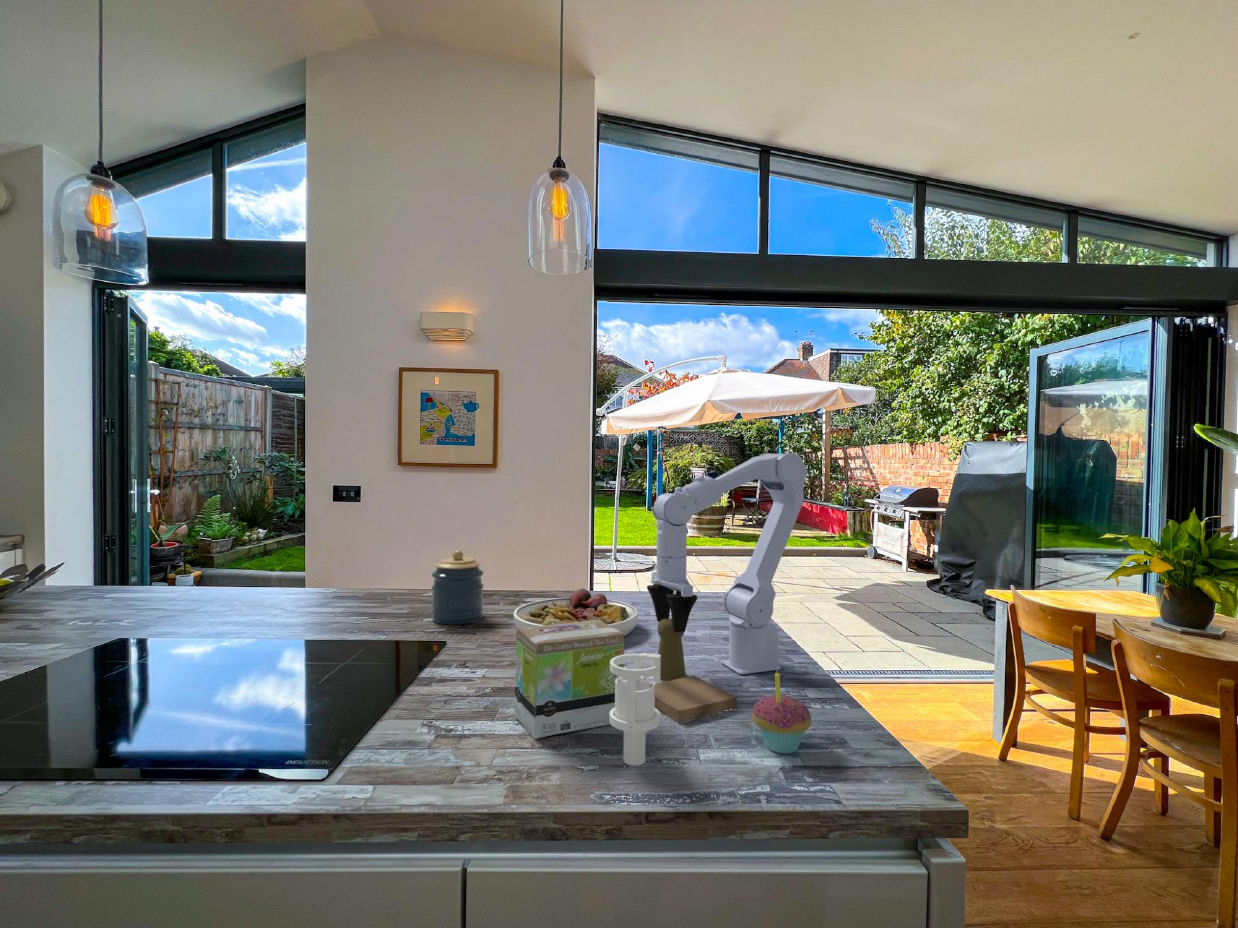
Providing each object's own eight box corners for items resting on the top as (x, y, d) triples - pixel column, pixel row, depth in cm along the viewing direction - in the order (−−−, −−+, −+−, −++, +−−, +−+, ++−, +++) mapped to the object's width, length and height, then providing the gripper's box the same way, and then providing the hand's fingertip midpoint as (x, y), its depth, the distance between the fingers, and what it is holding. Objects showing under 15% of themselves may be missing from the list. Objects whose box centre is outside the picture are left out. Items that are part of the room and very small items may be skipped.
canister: (422, 623, 159) (422, 553, 159) (444, 611, 172) (445, 546, 172) (471, 626, 157) (471, 555, 157) (490, 613, 170) (491, 547, 170)
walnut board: (693, 688, 118) (693, 675, 118) (736, 711, 108) (736, 697, 108) (638, 701, 112) (638, 686, 112) (678, 726, 102) (678, 710, 101)
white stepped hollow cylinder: (656, 774, 85) (657, 663, 85) (604, 769, 86) (605, 659, 86) (662, 750, 92) (663, 647, 92) (614, 746, 93) (614, 644, 93)
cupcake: (801, 765, 88) (802, 679, 88) (742, 749, 93) (743, 667, 92) (817, 741, 95) (818, 662, 95) (762, 728, 100) (763, 652, 100)
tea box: (535, 742, 95) (535, 643, 94) (513, 717, 103) (514, 626, 103) (624, 723, 101) (625, 630, 101) (597, 701, 110) (598, 616, 110)
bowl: (638, 651, 140) (639, 615, 140) (502, 649, 140) (502, 613, 140) (636, 616, 170) (637, 586, 170) (524, 615, 170) (524, 585, 170)
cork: (684, 683, 119) (685, 624, 119) (652, 680, 121) (653, 622, 120) (687, 672, 125) (688, 616, 125) (657, 670, 127) (657, 614, 126)
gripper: (638, 551, 128) (637, 618, 128) (668, 563, 114) (667, 638, 115) (670, 549, 130) (669, 615, 131) (703, 561, 117) (702, 634, 117)
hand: (670, 626), depth 123 cm, fingers open, 7 cm apart
